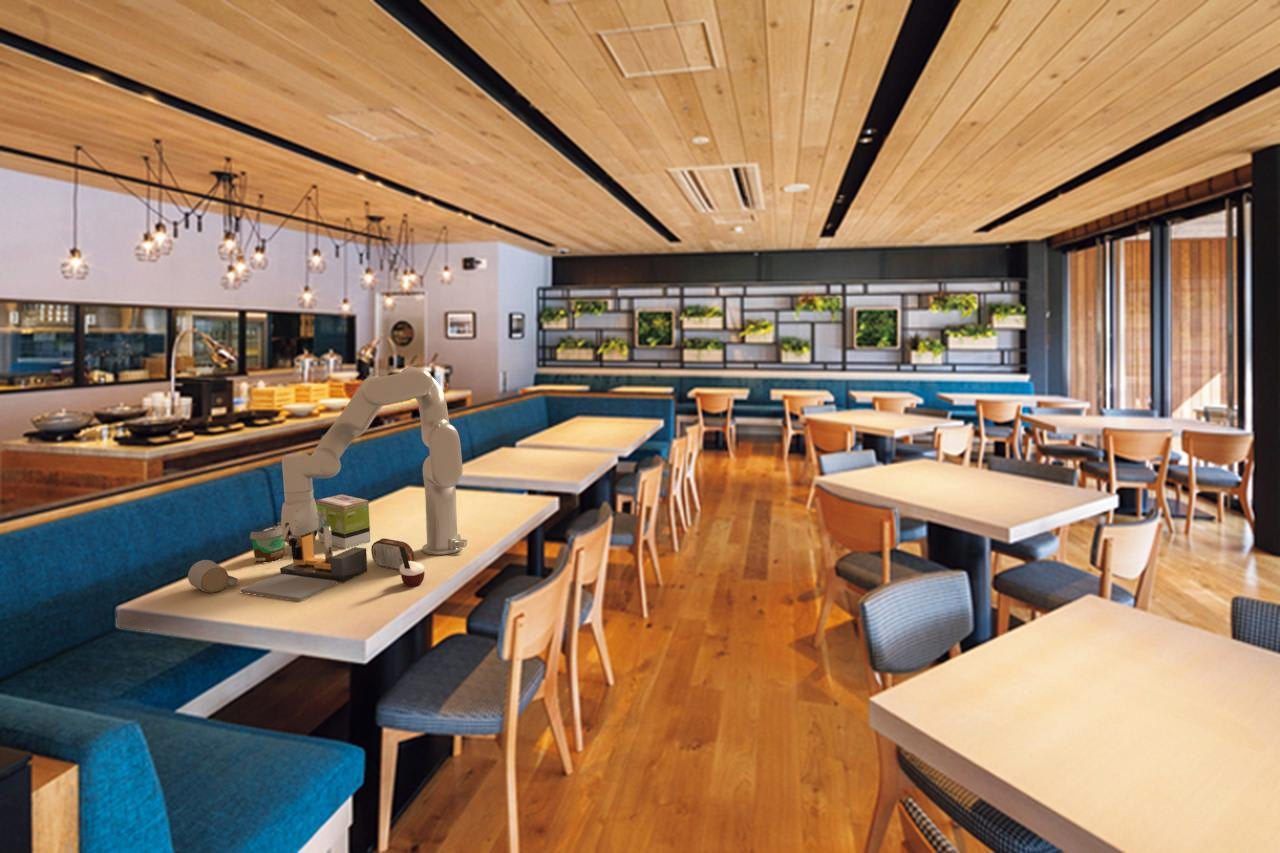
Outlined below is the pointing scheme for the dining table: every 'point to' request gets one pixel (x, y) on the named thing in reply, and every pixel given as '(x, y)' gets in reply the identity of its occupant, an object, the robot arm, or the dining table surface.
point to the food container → (268, 544)
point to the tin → (390, 553)
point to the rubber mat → (289, 587)
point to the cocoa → (411, 570)
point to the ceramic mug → (209, 576)
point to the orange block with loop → (310, 553)
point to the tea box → (344, 520)
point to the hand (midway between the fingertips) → (303, 556)
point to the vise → (333, 563)
